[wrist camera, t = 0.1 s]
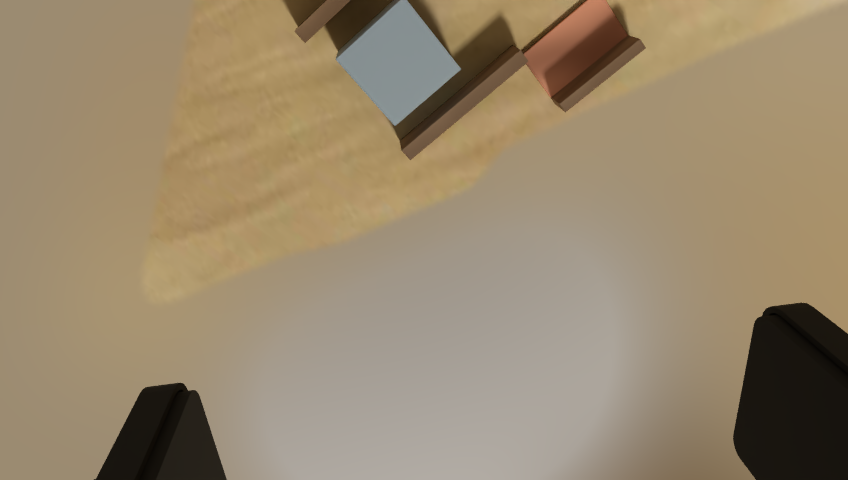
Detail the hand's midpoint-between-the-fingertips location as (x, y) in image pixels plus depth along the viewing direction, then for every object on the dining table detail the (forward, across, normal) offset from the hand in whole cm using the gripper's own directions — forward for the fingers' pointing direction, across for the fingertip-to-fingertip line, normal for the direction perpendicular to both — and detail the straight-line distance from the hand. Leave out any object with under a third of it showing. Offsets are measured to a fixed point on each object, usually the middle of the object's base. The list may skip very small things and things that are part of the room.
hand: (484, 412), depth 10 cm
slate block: (+37, 0, 0) cm, 37 cm away
